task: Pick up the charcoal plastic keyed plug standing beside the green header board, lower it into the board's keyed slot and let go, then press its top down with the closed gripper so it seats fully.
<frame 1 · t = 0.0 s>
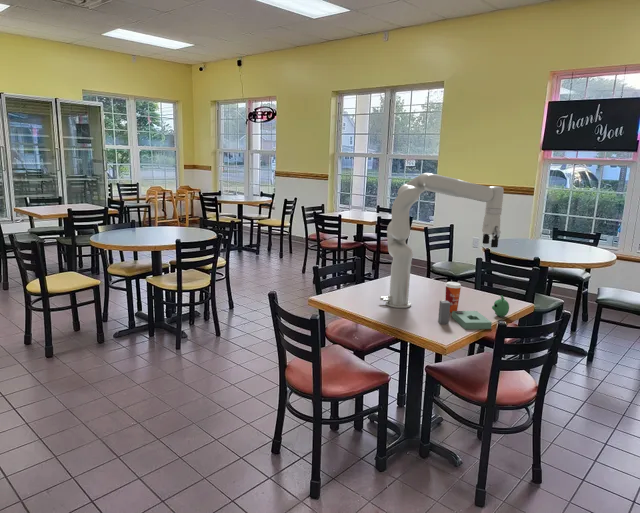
hand: (489, 245, 239), 31 cm above the table, fingers open, 9 cm apart
paper cup: (451, 311, 234), on the table
alien toy: (499, 316, 228), on the table
keyed plug: (443, 322, 216), on the table
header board: (470, 322, 217), on the table
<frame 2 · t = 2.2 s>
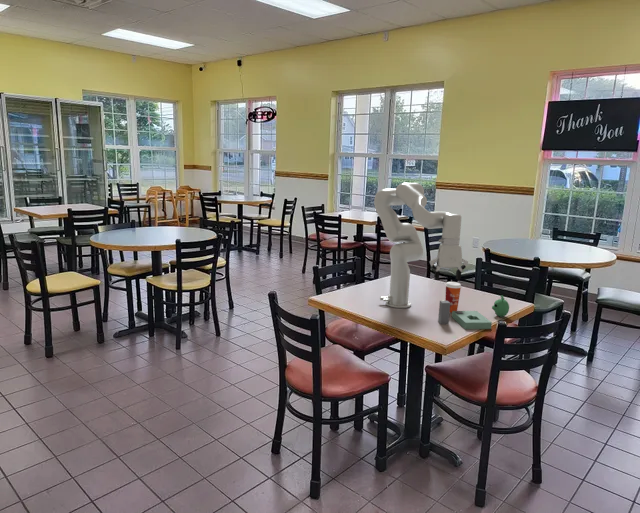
hand: (447, 279, 212), 20 cm above the table, fingers open, 9 cm apart
nothing on the table moved.
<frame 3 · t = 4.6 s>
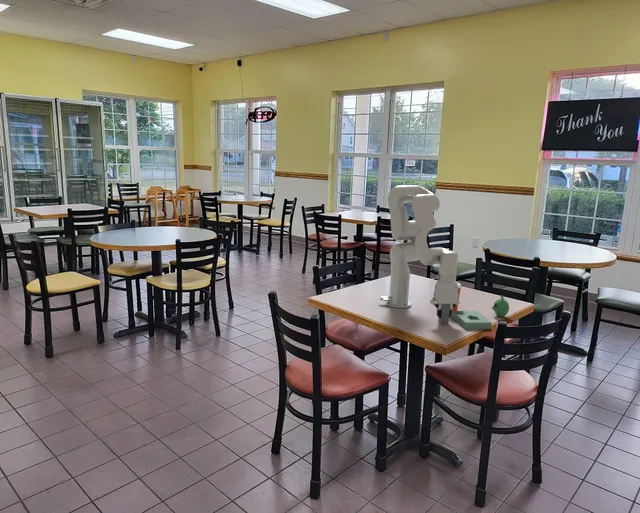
hand: (443, 317, 216), 3 cm above the table, fingers closed on keyed plug, 3 cm apart
keyed plug: (443, 322, 216), on the table, touching gripper
everything else where it was.
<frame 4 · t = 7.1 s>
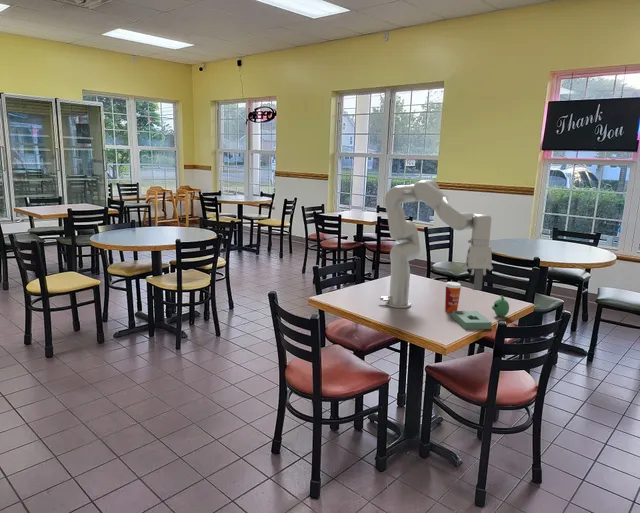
hand: (476, 282, 211), 19 cm above the table, fingers closed on keyed plug, 3 cm apart
keyed plug: (475, 288, 212), point 17 cm above the table, touching gripper
everything else where it was.
when the fingers open (4 cm above the table, at t = 9.6 s): keyed plug drops 1 cm, resting in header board.
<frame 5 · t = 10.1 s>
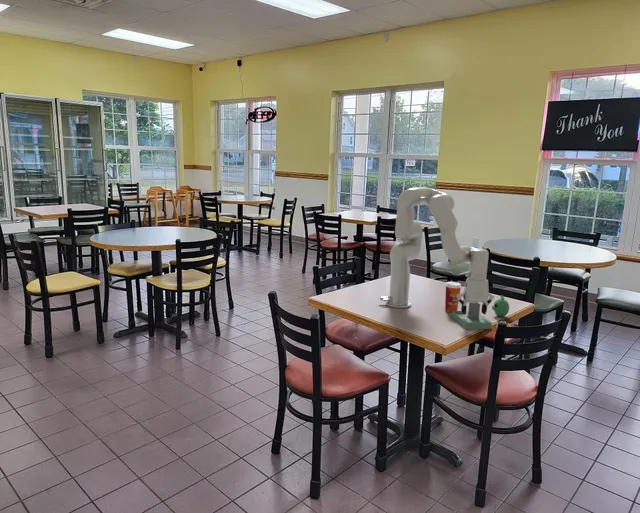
hand: (473, 313, 214), 5 cm above the table, fingers open, 8 cm apart
keyed plug: (472, 324, 215), resting in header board
everything else where it was.
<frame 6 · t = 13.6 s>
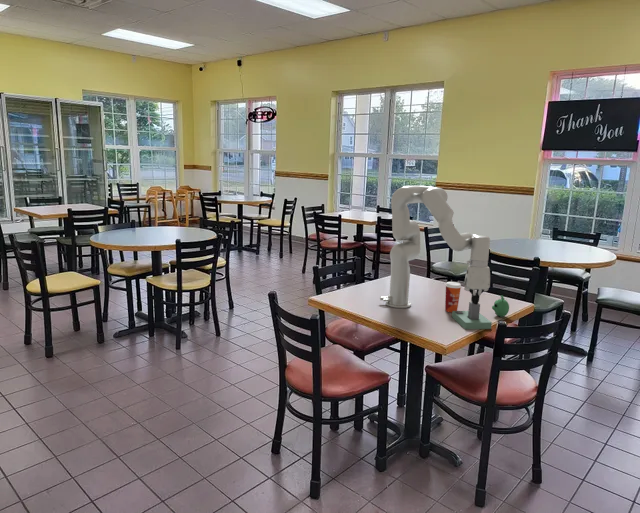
hand: (474, 303, 213), 10 cm above the table, fingers closed
keyed plug: (472, 324, 215), resting in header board, touching gripper
everything else where it was.
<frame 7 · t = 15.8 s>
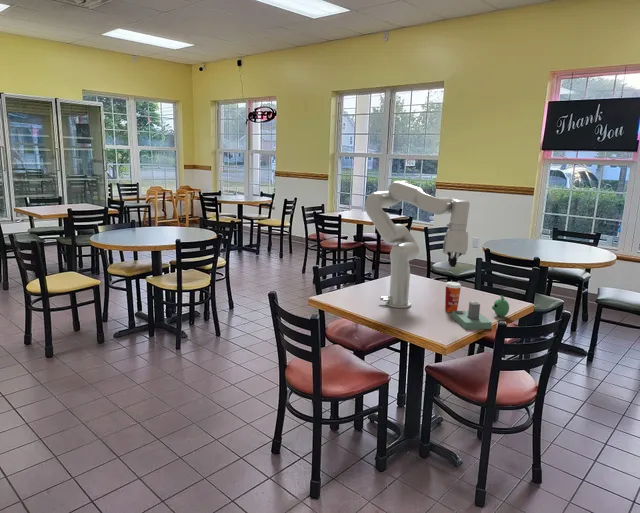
hand: (452, 266, 220), 25 cm above the table, fingers closed
keyed plug: (472, 324, 215), resting in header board
everything else where it was.
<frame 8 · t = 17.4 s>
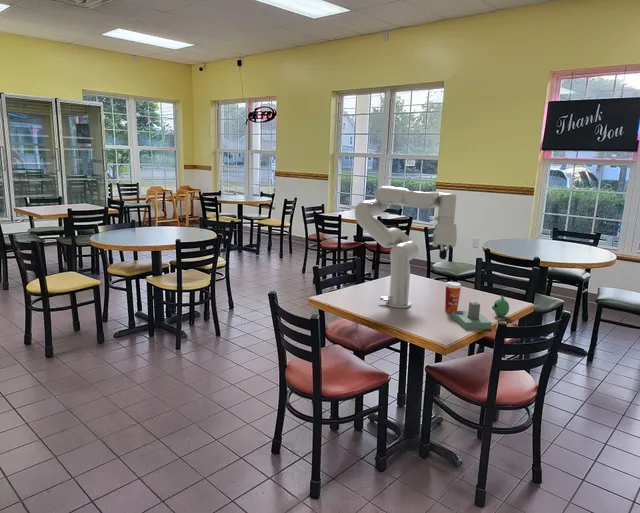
hand: (442, 258, 224), 27 cm above the table, fingers closed
nothing on the table moved.
at the end: keyed plug 0.1 cm from the target spot on the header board, point 0.0 cm above the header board's base; keyed plug tilted 0°; the gripper is holding nothing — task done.
